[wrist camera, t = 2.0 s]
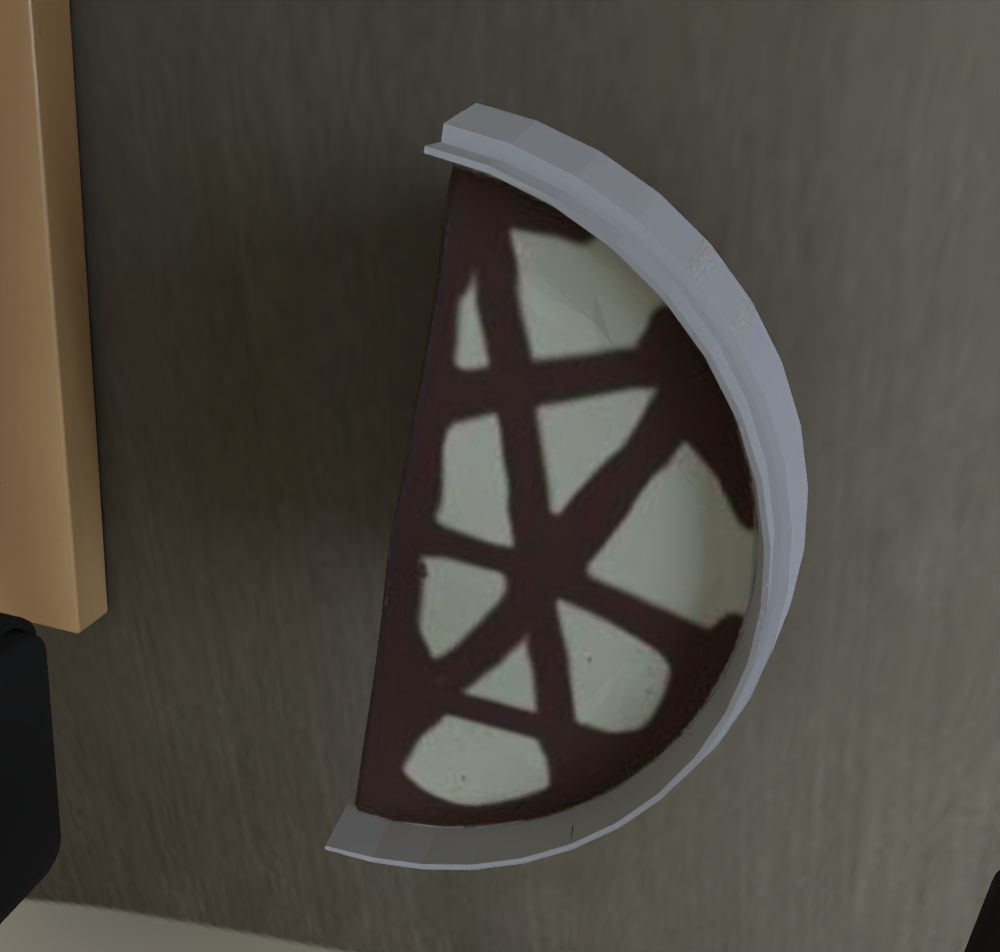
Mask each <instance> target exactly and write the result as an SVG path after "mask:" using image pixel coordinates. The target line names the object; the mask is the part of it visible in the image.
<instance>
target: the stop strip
mask: <svg viewBox="0 0 1000 952" xmlns="http://www.w3.org/2000/svg"><path fill="white" fill-rule="evenodd" d="M107 610H108V608H107V592H106V576H105V560H104V544H103V528H102V512H101V497H100V481H99V465H98V449H97V433H96V417H95V401H94V385H93V370H92V354H91V338H90V322H89V306H88V290H87V274H86V258H85V243H84V227H83V211H82V195H81V179H80V163H79V147H78V131H77V116H76V100H75V84H74V68H73V52H72V36H71V20H70V4H69V0H0V612H1V613H5V614H9V615H13V616H18V617H22V618H25V619H26V620H28V621H30V622H32V623H36V624H40V625H44V626H48V627H52V628H57V629H61V630H65V631H69V632H73V633H80V632H82V631H83V630H84V629H86V628H87V627H88V626H90V625H91V624H92V623H94V622H95V621H96V620H97V619H99V618H100V617H101V616H103V615H104V614H105V613H107Z"/></svg>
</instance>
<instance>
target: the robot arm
mask: <svg viewBox="0 0 1000 952" xmlns="http://www.w3.org/2000/svg"><path fill="white" fill-rule="evenodd" d="M60 843H61V832H60V819H59V806H58V794H57V781H56V768H55V755H54V743H53V730H52V717H51V705H50V692H49V679H48V666H47V654H46V647H45V643H44V642H43V640H42V639H41V638H40V637H38V636H36V631H35V628H34V626H33V625H32V623H31V622H30V621H28V620H26V619H25V618H22V617H18V616H13V615H9V614H5V613H1V612H0V924H1V923H2V921H3V920H4V919H5V918H6V917H7V916H8V915H9V914H10V913H11V912H12V911H13V910H14V909H15V908H16V907H17V906H18V904H19V903H20V902H21V901H22V900H23V899H24V898H25V897H26V896H27V895H28V894H29V893H30V892H31V891H32V889H33V888H34V887H35V886H36V885H37V884H38V883H39V882H40V881H41V880H42V879H43V878H44V877H45V875H46V874H47V873H48V871H49V870H50V869H51V867H52V865H53V863H54V862H55V859H56V857H57V854H58V852H59V847H60ZM965 952H1000V870H999V871H998V872H997V873H996V874H995V876H994V878H993V880H992V883H991V885H990V888H989V890H988V893H987V895H986V898H985V900H984V903H983V906H982V908H981V911H980V913H979V916H978V918H977V921H976V923H975V926H974V929H973V931H972V934H971V936H970V939H969V941H968V944H967V946H966V949H965Z"/></svg>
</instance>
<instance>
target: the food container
mask: <svg viewBox="0 0 1000 952" xmlns="http://www.w3.org/2000/svg"><path fill="white" fill-rule="evenodd" d="M424 153H426V154H429V155H432V156H435V157H439V158H442V159H445V160H448V161H451V162H455V163H458V164H454V165H453V169H452V173H451V176H450V180H449V188H448V196H447V201H446V205H445V208H444V212H443V215H442V219H441V248H440V256H439V264H438V272H437V280H436V287H435V293H434V299H433V305H432V311H431V317H430V323H429V329H428V335H427V341H426V347H425V353H424V359H423V365H422V371H421V377H420V383H419V388H418V394H417V400H416V406H415V411H414V417H413V423H412V428H411V434H410V439H409V444H408V450H407V455H406V460H405V465H404V470H403V475H402V481H401V486H400V491H399V496H398V501H397V506H396V512H395V517H394V522H393V527H392V532H391V537H390V542H389V551H388V560H387V569H386V579H385V588H384V599H383V610H382V618H381V626H380V634H379V642H378V650H377V658H376V666H375V673H374V680H373V687H372V693H371V700H370V706H369V713H368V719H367V726H366V732H365V739H364V746H363V752H362V759H361V766H360V773H359V779H358V786H357V787H356V789H355V791H354V793H353V795H352V797H351V799H350V801H349V802H348V804H347V806H346V808H345V810H344V812H343V814H342V816H341V818H340V819H339V821H338V823H337V825H336V827H335V829H334V831H333V833H332V835H331V836H330V838H329V840H328V842H327V844H326V846H325V849H326V850H329V851H333V852H337V853H340V854H344V855H348V856H351V857H355V858H359V859H362V860H366V861H370V862H375V863H382V864H389V865H396V866H403V867H410V868H417V869H446V870H476V869H483V868H491V867H499V866H507V865H514V864H522V863H527V862H530V861H534V860H537V859H541V858H544V857H548V856H551V855H555V854H558V853H562V852H565V851H569V850H572V849H575V848H577V847H579V846H581V845H583V844H585V843H588V842H590V841H592V840H594V839H596V838H598V837H601V836H603V835H605V834H607V833H609V832H611V831H613V830H616V829H618V828H620V827H621V826H623V825H624V824H625V823H627V822H628V821H630V820H631V819H633V818H634V817H636V816H637V815H639V814H640V813H642V812H643V811H644V810H646V809H647V808H649V807H650V806H652V805H653V804H655V803H656V802H658V801H659V800H660V799H662V798H663V797H664V796H665V795H666V794H667V793H668V792H669V791H670V790H671V789H672V788H673V787H674V786H675V785H676V784H677V783H679V782H680V781H681V780H682V779H683V778H684V777H685V776H686V775H687V774H688V773H689V772H690V771H691V770H692V769H693V768H694V767H695V766H696V765H697V764H698V763H699V762H700V761H702V760H703V759H704V758H705V757H706V756H707V755H708V754H709V753H710V752H711V751H712V750H713V749H714V748H715V747H716V746H717V745H718V743H719V742H720V741H721V739H722V738H723V736H724V735H725V734H726V732H727V731H728V729H729V728H730V727H731V725H732V724H733V722H734V721H735V720H736V718H737V717H738V715H739V714H740V712H741V711H742V710H743V708H744V707H745V705H746V704H747V703H748V701H749V700H750V697H751V695H752V693H753V691H754V689H755V687H756V684H757V682H758V680H759V678H760V676H761V674H762V672H763V669H764V667H765V665H766V663H767V661H768V659H769V656H770V654H771V652H772V650H773V648H774V645H775V643H776V640H777V638H778V635H779V633H780V630H781V628H782V625H783V623H784V620H785V618H786V615H787V613H788V610H789V607H790V604H791V600H792V596H793V592H794V588H795V584H796V580H797V576H798V572H799V568H800V564H801V560H802V556H803V552H804V545H805V530H806V514H807V498H808V484H807V475H806V466H805V458H804V449H803V440H802V431H801V425H800V421H799V418H798V414H797V411H796V408H795V404H794V401H793V398H792V394H791V391H790V388H789V384H788V381H787V377H786V374H785V371H784V367H783V364H782V361H781V359H780V357H779V355H778V353H777V351H776V349H775V347H774V345H773V343H772V341H771V339H770V337H769V335H768V333H767V331H766V329H765V327H764V325H763V323H762V321H761V319H760V317H759V315H758V313H757V311H756V309H755V307H754V305H753V303H752V301H751V299H750V298H749V296H748V295H747V294H746V292H745V291H744V290H743V288H742V287H741V285H740V284H739V283H738V281H737V280H736V278H735V277H734V276H733V274H732V273H731V272H730V270H729V269H728V267H727V266H726V265H725V263H724V262H723V260H722V259H721V258H720V256H719V255H718V254H717V252H716V251H715V249H714V248H713V247H712V245H711V244H710V243H709V242H708V241H707V240H706V239H705V238H704V237H703V236H702V235H701V234H700V233H699V232H698V231H697V230H696V229H695V228H694V227H693V226H692V225H691V224H690V223H689V222H688V221H687V220H686V219H685V218H684V217H683V216H682V215H681V214H680V213H679V212H678V211H677V210H676V209H675V208H674V207H673V206H672V205H671V204H670V203H669V202H668V201H667V200H666V199H665V198H664V197H663V196H662V195H661V194H660V193H658V192H657V191H656V190H654V189H653V188H651V187H650V186H648V185H647V184H646V183H644V182H643V181H641V180H640V179H639V178H637V177H636V176H634V175H633V174H632V173H630V172H629V171H627V170H626V169H624V168H623V167H622V166H620V165H619V164H617V163H616V162H615V161H613V160H612V159H610V158H609V157H608V156H606V155H605V154H603V153H602V152H600V151H598V150H596V149H594V148H592V147H590V146H588V145H586V144H584V143H582V142H580V141H578V140H575V139H573V138H571V137H569V136H567V135H565V134H563V133H561V132H559V131H557V130H555V129H553V128H551V127H549V126H547V125H544V124H542V123H540V122H538V121H536V120H533V119H529V118H526V117H522V116H519V115H516V114H512V113H509V112H505V111H502V110H499V109H495V108H492V107H488V106H485V105H482V104H478V103H475V104H474V105H472V106H470V107H469V108H467V109H466V110H464V111H462V112H461V113H459V114H458V115H456V116H454V117H453V118H451V119H450V120H448V121H446V122H445V123H444V125H443V132H442V140H441V142H439V143H435V144H431V145H426V146H425V147H424Z"/></svg>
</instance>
